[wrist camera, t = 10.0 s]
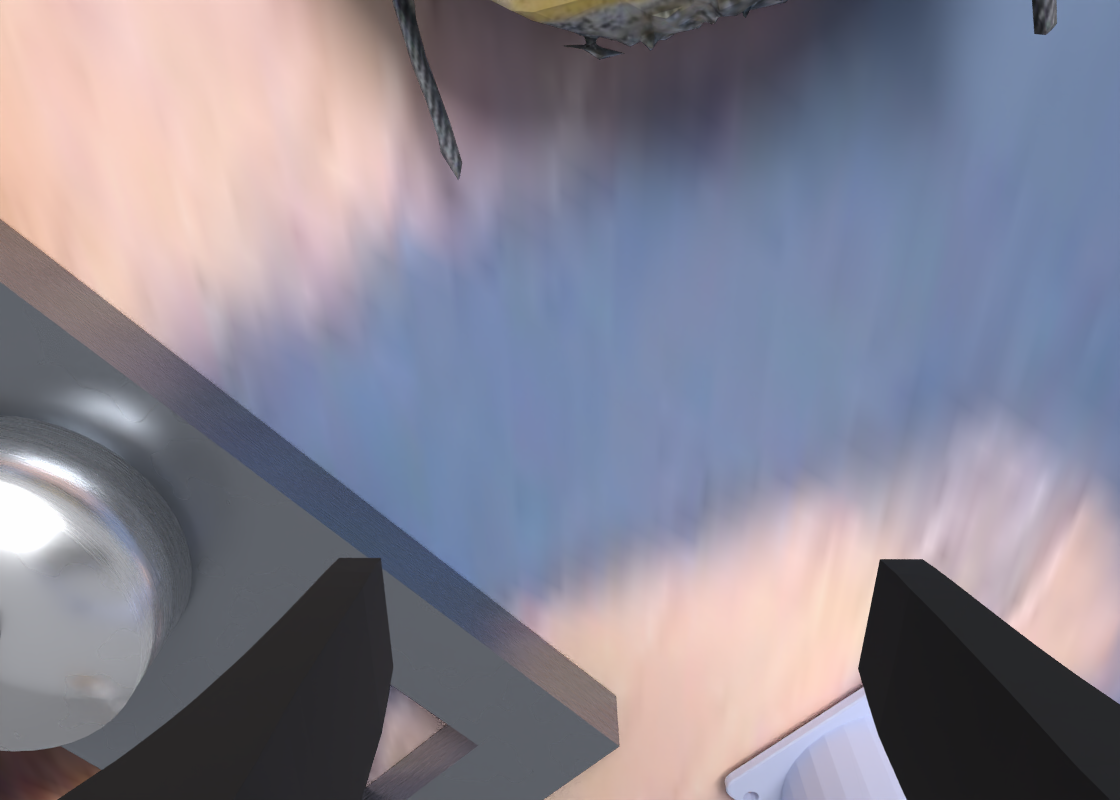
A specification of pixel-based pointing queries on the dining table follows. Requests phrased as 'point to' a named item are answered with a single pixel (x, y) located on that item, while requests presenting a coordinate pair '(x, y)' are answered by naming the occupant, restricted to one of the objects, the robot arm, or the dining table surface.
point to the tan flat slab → (605, 34)
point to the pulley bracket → (223, 563)
